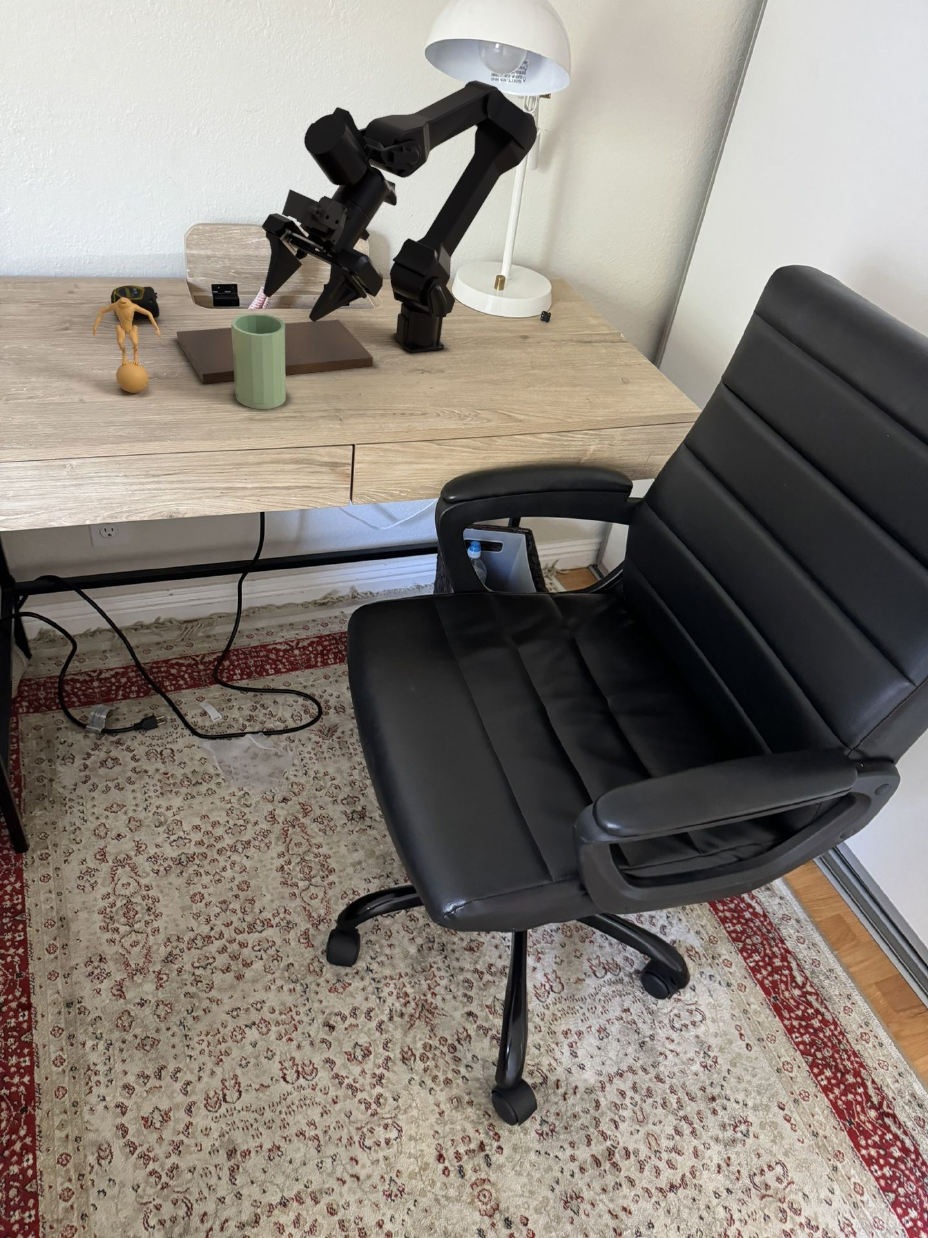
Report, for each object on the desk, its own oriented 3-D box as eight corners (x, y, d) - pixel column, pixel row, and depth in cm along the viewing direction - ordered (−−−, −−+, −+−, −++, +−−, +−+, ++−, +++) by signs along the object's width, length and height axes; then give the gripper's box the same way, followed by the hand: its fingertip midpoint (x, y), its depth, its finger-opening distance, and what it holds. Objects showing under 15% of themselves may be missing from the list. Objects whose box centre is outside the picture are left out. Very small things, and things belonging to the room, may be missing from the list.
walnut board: (338, 327, 133) (338, 319, 132) (372, 366, 124) (373, 356, 123) (177, 340, 122) (176, 331, 121) (203, 383, 113) (202, 373, 112)
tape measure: (161, 325, 125) (158, 301, 122) (113, 325, 122) (109, 300, 120) (158, 307, 129) (156, 283, 127) (112, 306, 127) (109, 282, 125)
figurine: (100, 397, 107) (83, 307, 99) (103, 376, 111) (88, 288, 103) (166, 398, 109) (155, 310, 101) (167, 377, 113) (157, 292, 105)
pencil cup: (276, 383, 116) (274, 311, 109) (292, 405, 112) (292, 332, 105) (229, 388, 113) (225, 315, 106) (244, 411, 109) (240, 337, 102)
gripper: (271, 145, 104) (206, 247, 104) (373, 187, 96) (302, 297, 97) (316, 203, 114) (256, 296, 115) (411, 245, 107) (347, 345, 107)
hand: (288, 307), depth 108 cm, fingers open, 9 cm apart
